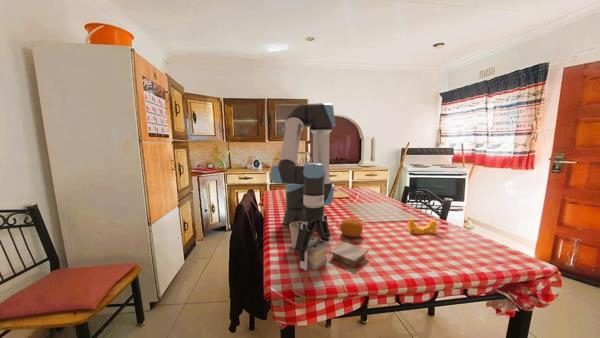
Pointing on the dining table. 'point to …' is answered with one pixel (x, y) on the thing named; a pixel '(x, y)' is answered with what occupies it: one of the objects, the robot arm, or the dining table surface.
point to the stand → (348, 253)
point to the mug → (294, 232)
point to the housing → (316, 253)
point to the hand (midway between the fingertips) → (313, 262)
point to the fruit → (351, 227)
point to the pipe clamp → (421, 230)
